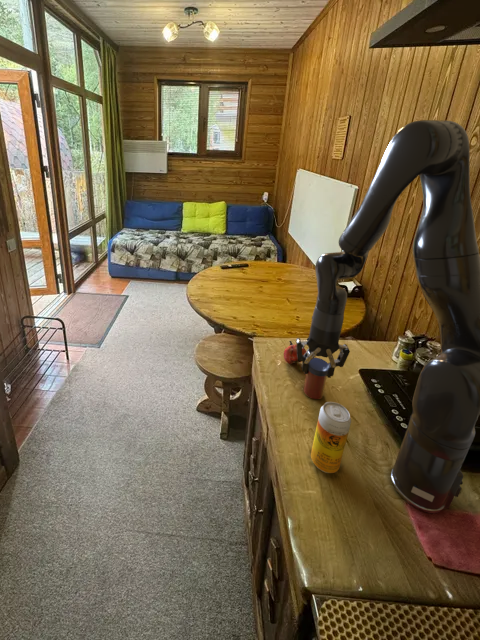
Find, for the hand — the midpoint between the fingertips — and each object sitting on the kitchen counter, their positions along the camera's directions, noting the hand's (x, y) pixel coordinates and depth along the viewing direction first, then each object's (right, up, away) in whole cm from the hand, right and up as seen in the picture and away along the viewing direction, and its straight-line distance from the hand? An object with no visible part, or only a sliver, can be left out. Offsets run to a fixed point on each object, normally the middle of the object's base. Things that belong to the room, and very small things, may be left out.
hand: (316, 373), depth 88 cm
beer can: (-6, -13, -18) cm, 23 cm away
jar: (0, -6, +2) cm, 7 cm away
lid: (0, +3, -1) cm, 3 cm away
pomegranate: (-2, -2, +14) cm, 14 cm away
